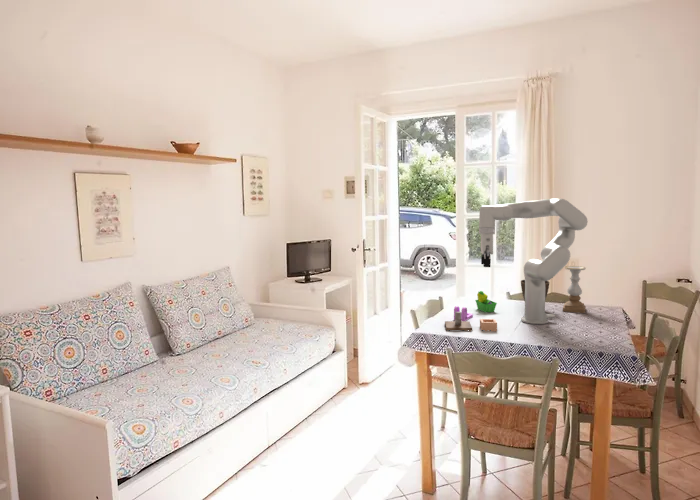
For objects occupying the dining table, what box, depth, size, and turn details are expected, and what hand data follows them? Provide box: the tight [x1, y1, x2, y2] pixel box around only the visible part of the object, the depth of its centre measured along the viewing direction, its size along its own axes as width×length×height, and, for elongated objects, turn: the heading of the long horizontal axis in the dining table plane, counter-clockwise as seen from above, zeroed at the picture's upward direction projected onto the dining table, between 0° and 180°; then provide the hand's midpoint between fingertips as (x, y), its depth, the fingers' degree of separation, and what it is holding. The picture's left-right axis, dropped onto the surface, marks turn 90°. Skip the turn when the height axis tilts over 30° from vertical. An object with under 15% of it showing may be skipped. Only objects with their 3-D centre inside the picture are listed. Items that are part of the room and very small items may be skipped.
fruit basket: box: [475, 290, 498, 313], centre depth 271 cm, size 11×9×11 cm
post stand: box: [444, 311, 473, 332], centre depth 238 cm, size 12×12×8 cm
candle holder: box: [562, 265, 587, 314], centre depth 267 cm, size 11×11×24 cm
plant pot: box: [520, 279, 550, 302], centre depth 270 cm, size 15×15×16 cm
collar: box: [479, 318, 498, 332], centre depth 235 cm, size 7×7×4 cm
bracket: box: [453, 305, 474, 321], centre depth 256 cm, size 13×6×7 cm, turn 142°
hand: (485, 265), depth 240 cm, fingers open, 9 cm apart
